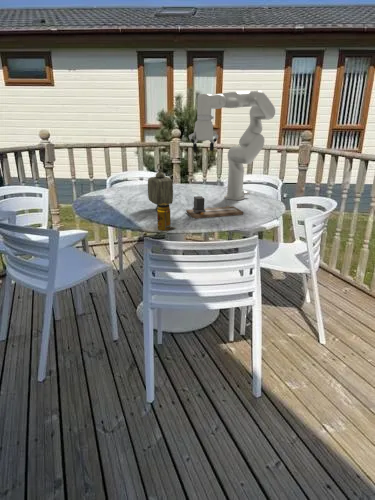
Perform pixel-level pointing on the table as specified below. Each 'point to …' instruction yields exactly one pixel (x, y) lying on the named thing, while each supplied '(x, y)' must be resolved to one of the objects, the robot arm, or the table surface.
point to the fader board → (215, 212)
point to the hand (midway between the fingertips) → (203, 151)
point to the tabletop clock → (160, 188)
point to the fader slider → (199, 204)
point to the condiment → (164, 218)
